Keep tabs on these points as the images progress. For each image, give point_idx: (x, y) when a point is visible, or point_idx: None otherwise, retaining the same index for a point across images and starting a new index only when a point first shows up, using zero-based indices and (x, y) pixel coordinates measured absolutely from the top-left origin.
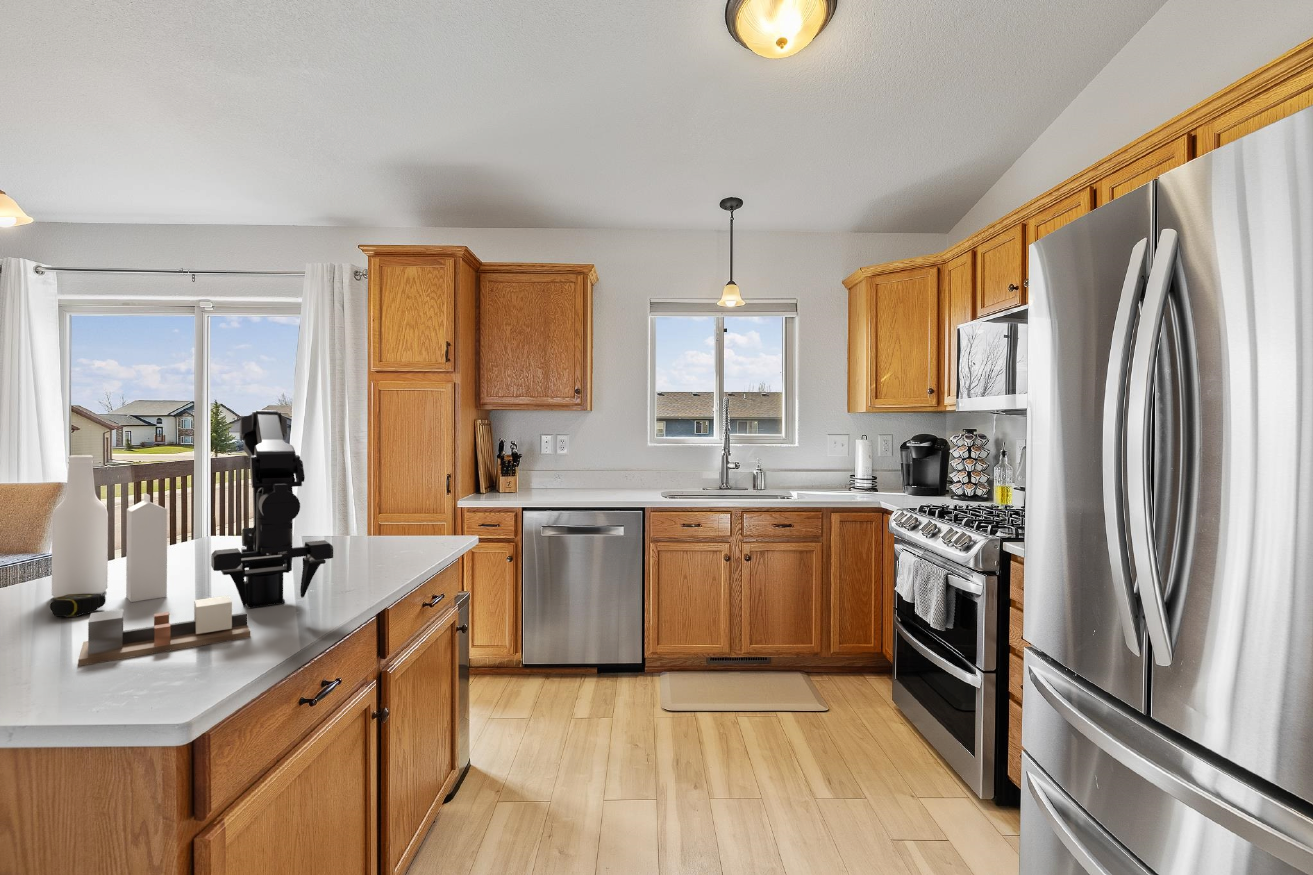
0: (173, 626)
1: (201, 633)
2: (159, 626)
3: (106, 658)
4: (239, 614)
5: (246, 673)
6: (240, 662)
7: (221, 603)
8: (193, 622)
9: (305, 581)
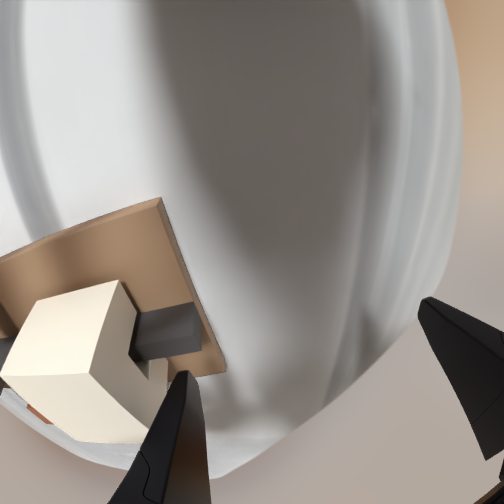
0: None
1: None
2: (43, 418)
3: None
4: (172, 349)
5: (247, 451)
6: (233, 436)
7: (133, 442)
8: None
9: (455, 387)
